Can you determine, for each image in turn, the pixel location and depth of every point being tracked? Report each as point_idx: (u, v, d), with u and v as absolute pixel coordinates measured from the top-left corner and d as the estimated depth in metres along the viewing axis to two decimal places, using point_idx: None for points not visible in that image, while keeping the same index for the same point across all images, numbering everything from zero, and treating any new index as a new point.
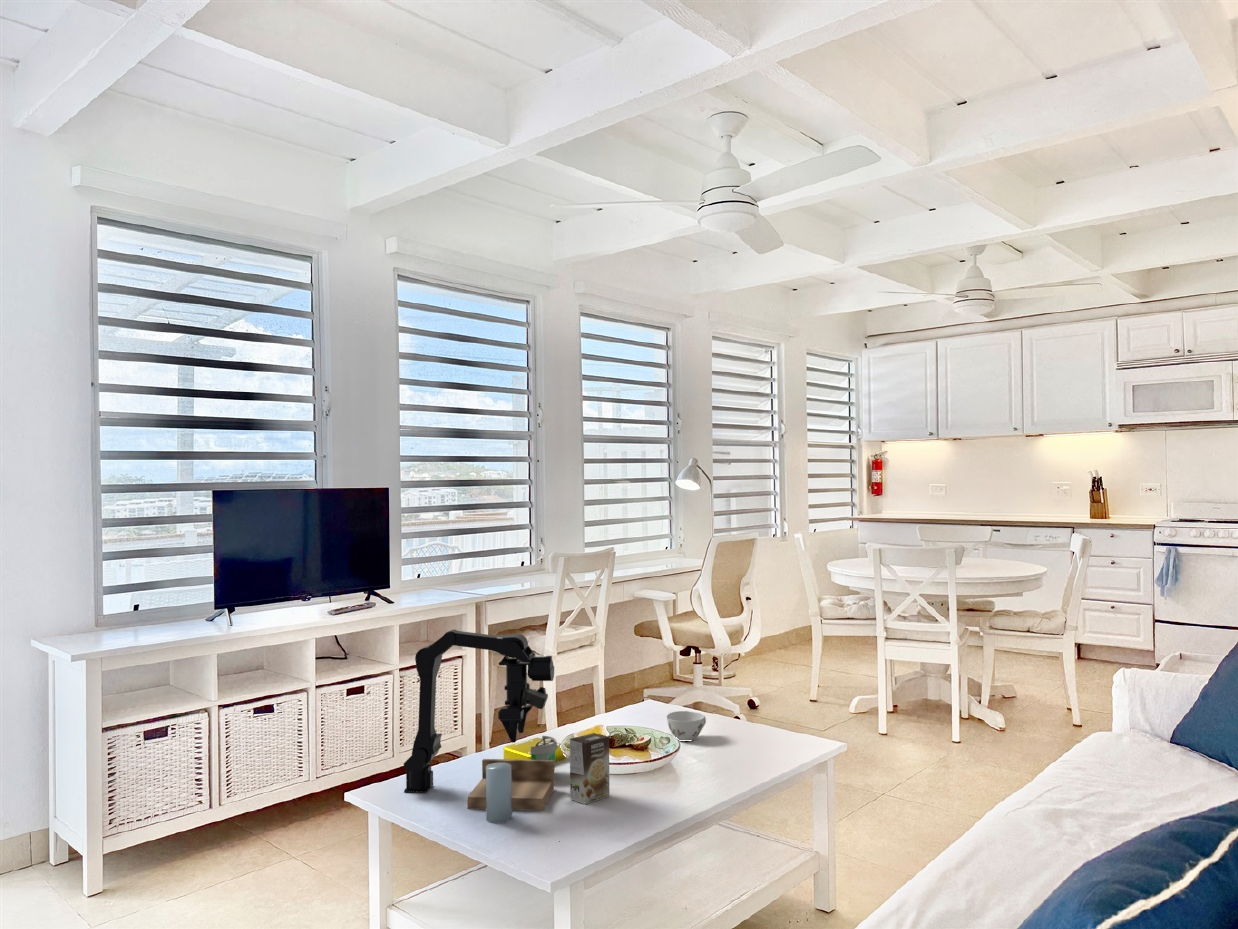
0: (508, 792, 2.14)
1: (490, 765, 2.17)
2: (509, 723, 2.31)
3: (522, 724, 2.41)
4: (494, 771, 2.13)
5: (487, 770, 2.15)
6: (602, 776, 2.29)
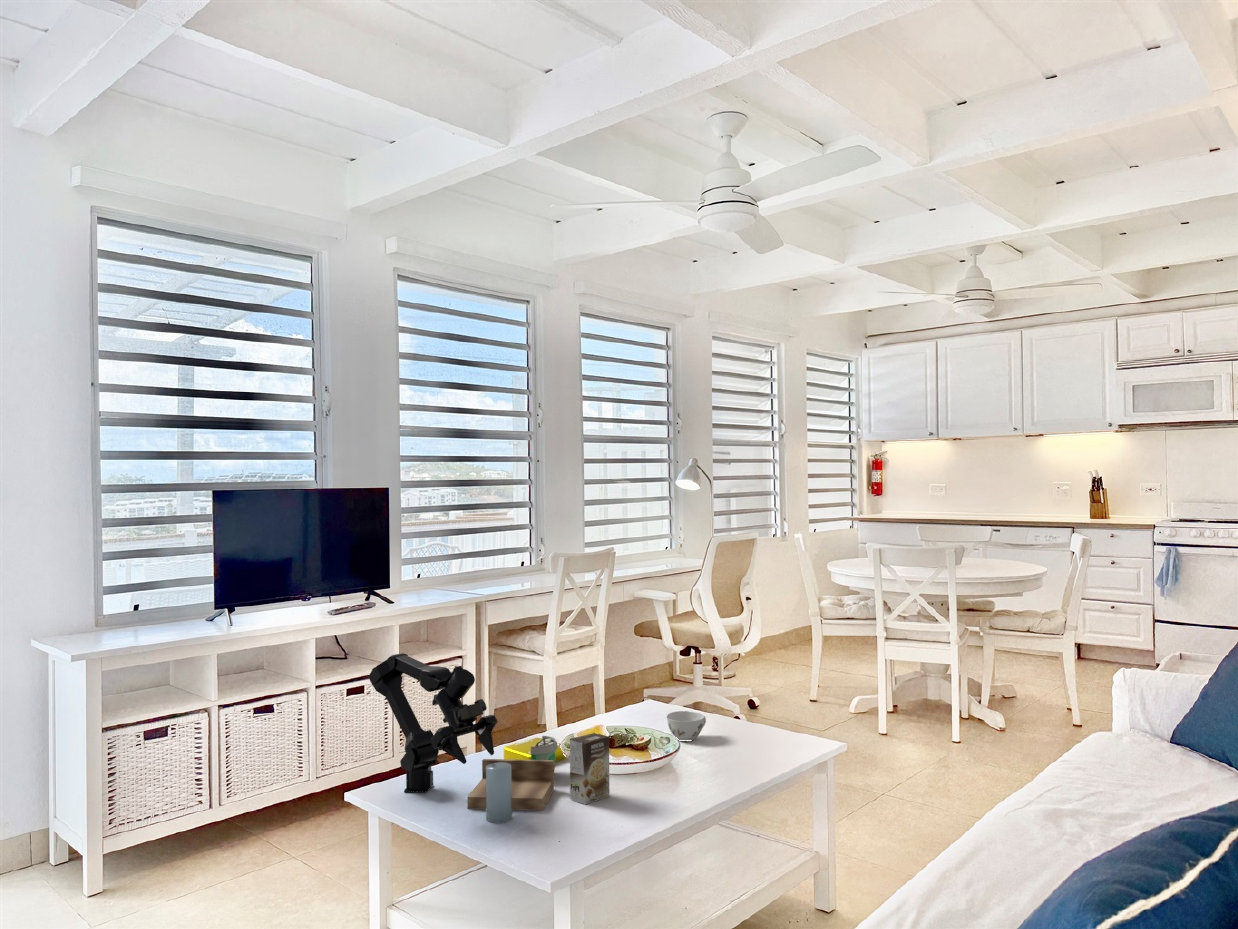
0: (508, 792, 2.14)
1: (490, 765, 2.17)
2: (450, 747, 2.21)
3: (489, 745, 2.26)
4: (494, 771, 2.13)
5: (487, 770, 2.15)
6: (602, 776, 2.29)
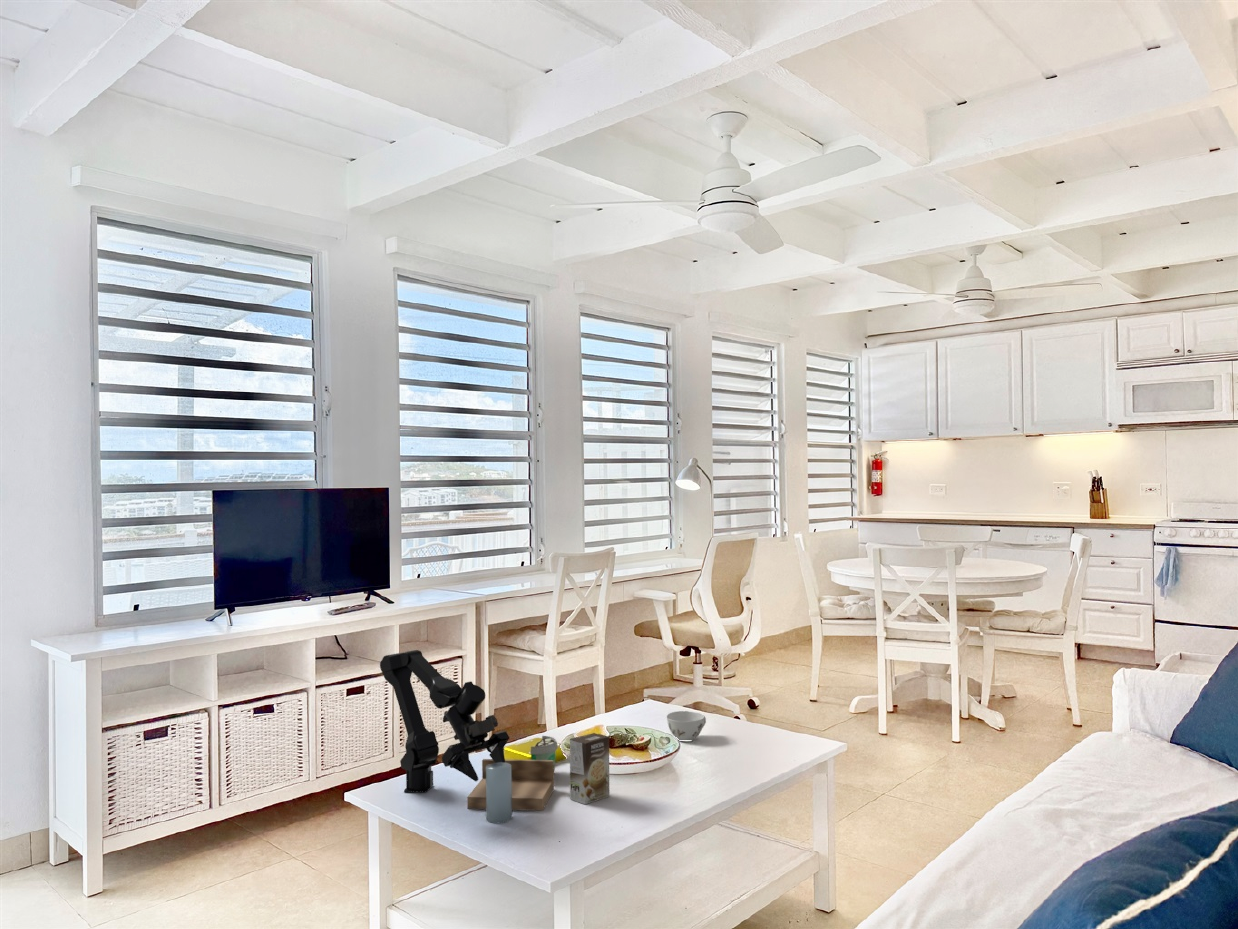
0: (508, 792, 2.14)
1: (490, 765, 2.17)
2: (462, 765, 2.17)
3: None
4: (494, 771, 2.13)
5: (487, 770, 2.15)
6: (602, 776, 2.29)
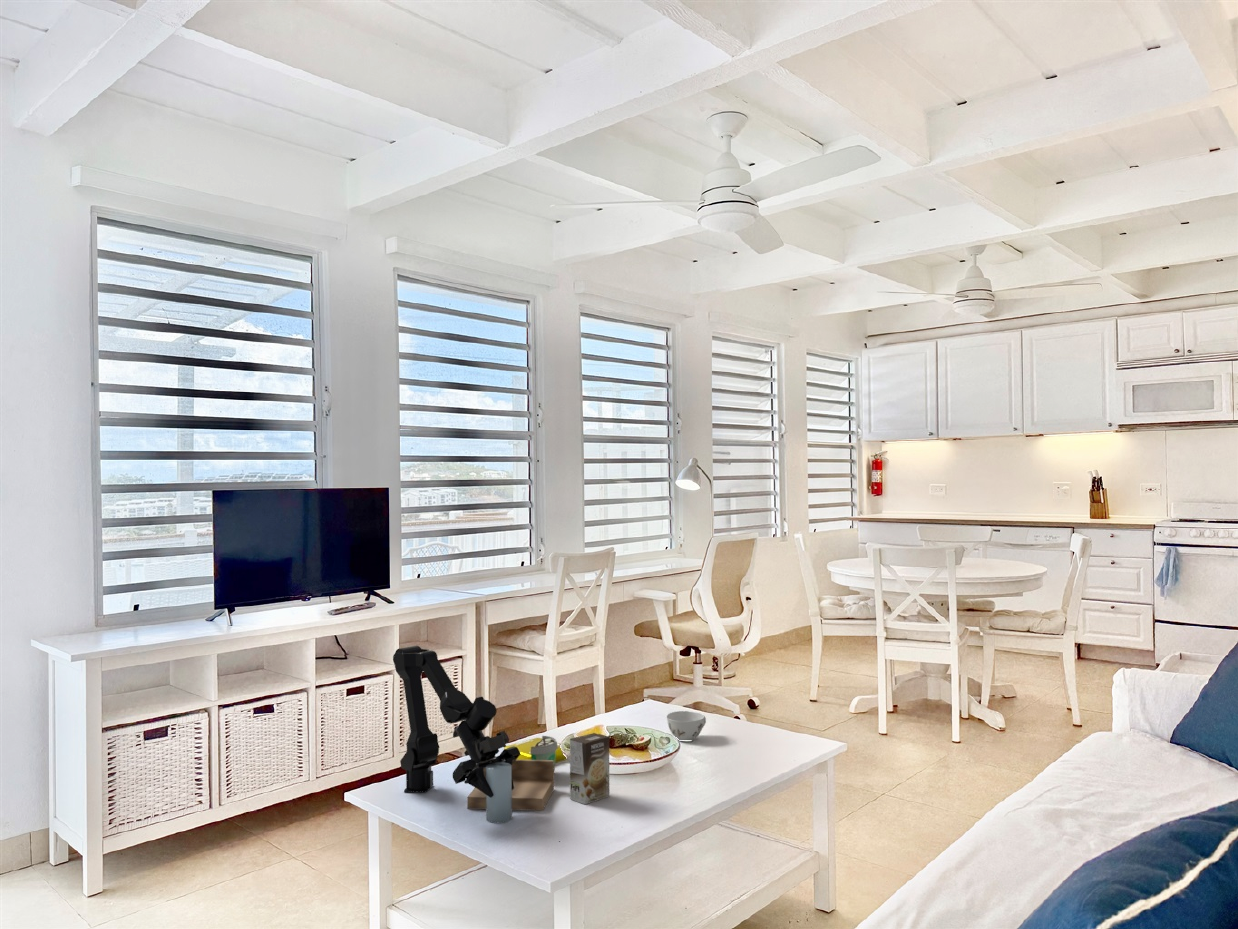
0: (508, 792, 2.14)
1: (490, 765, 2.17)
2: (477, 780, 2.15)
3: None
4: (494, 771, 2.13)
5: (487, 770, 2.15)
6: (602, 776, 2.29)
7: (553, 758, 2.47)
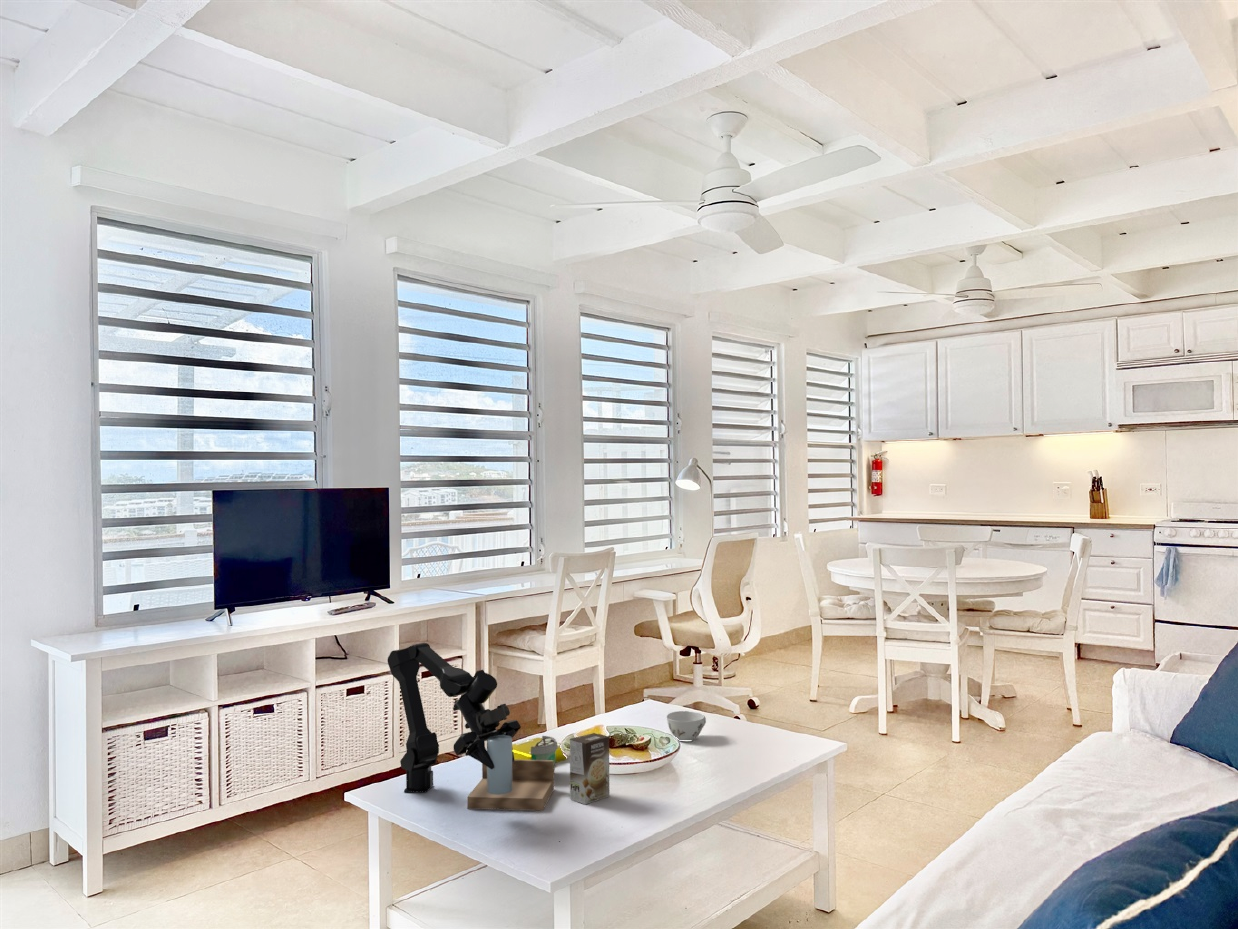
0: (509, 764, 2.15)
1: (491, 737, 2.18)
2: (477, 752, 2.15)
3: None
4: (495, 743, 2.14)
5: (488, 742, 2.15)
6: (602, 776, 2.29)
7: (553, 758, 2.47)
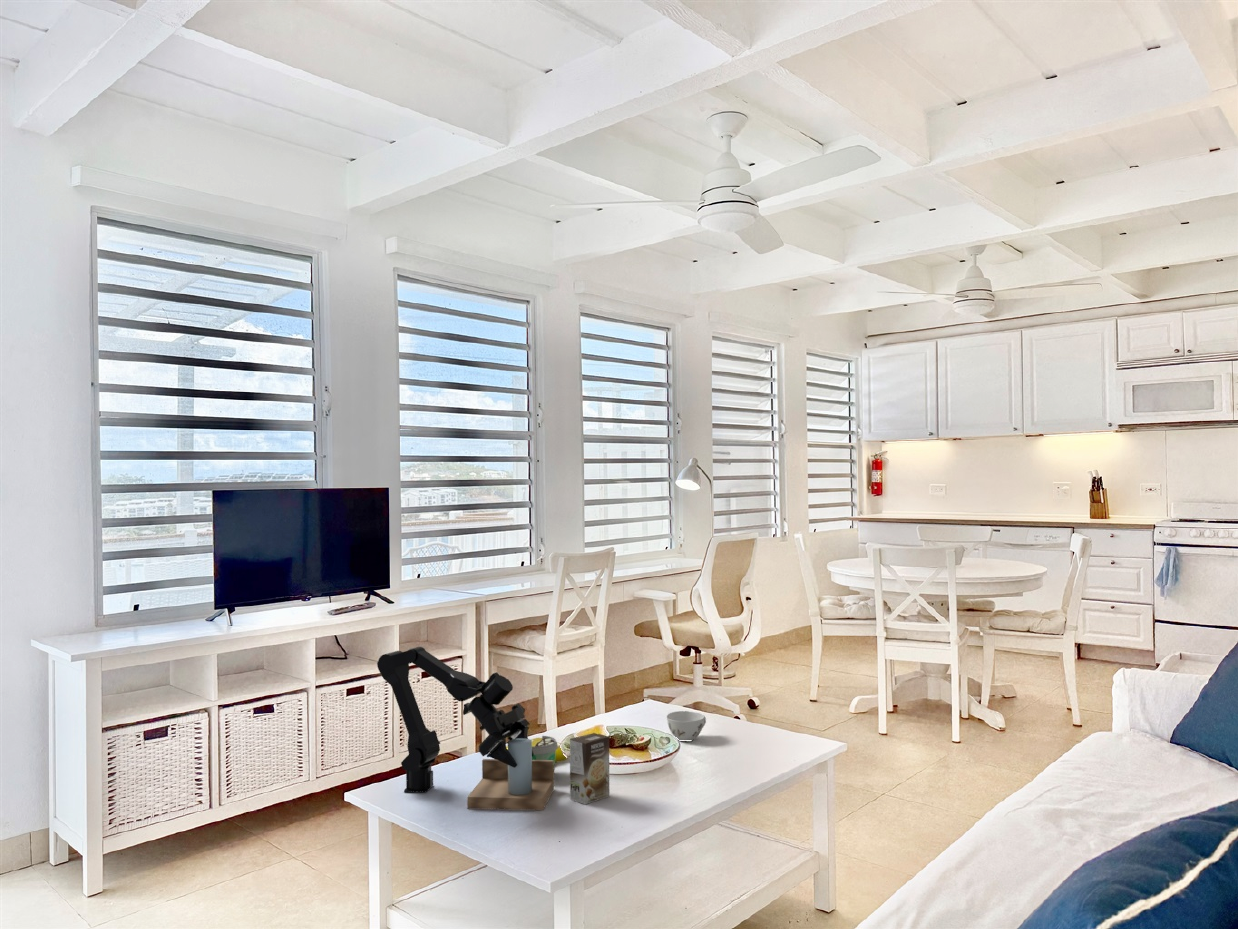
0: (531, 765, 2.26)
1: (511, 741, 2.27)
2: (498, 753, 2.23)
3: None
4: (520, 745, 2.24)
5: (511, 745, 2.25)
6: (602, 776, 2.29)
7: (553, 758, 2.47)
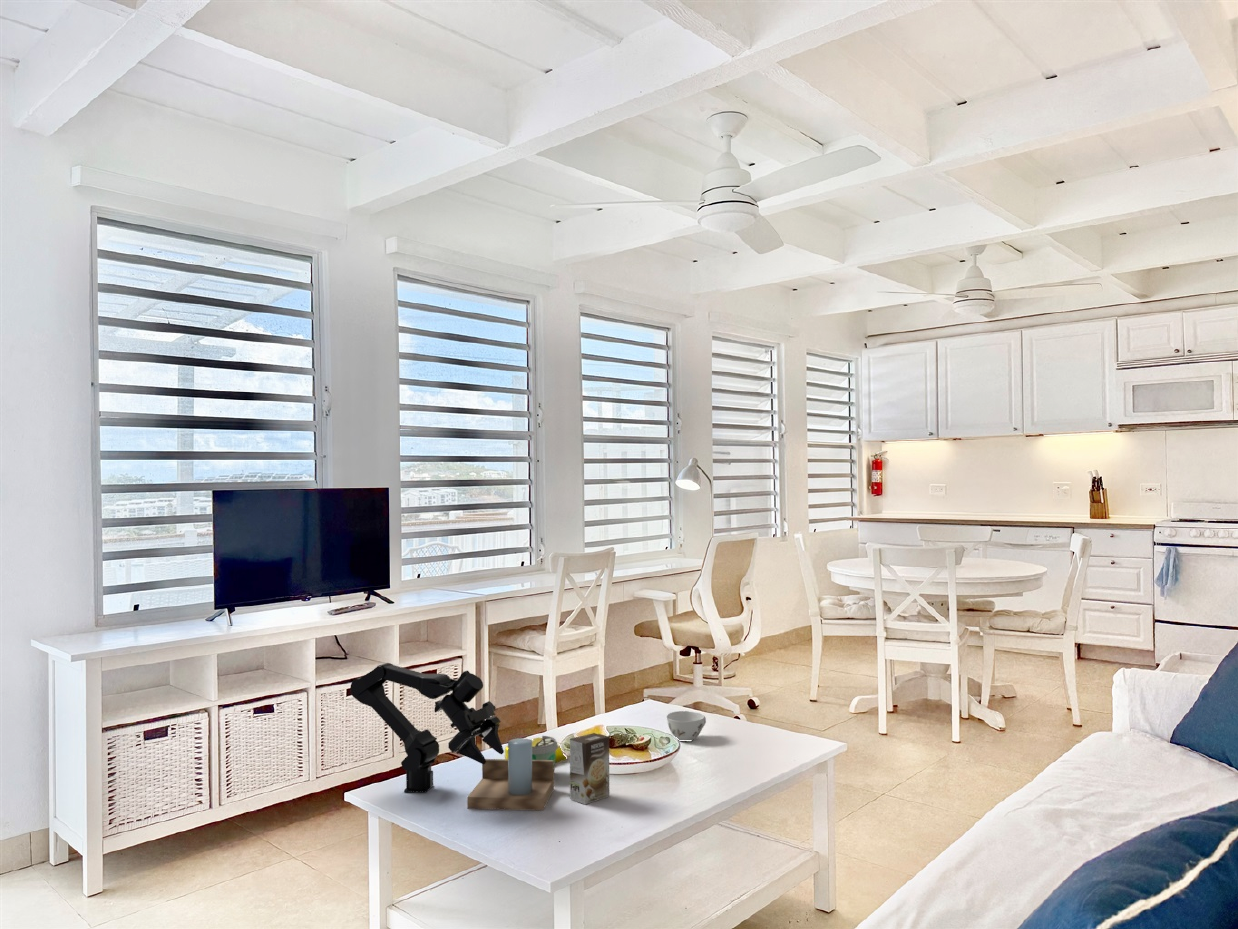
0: (531, 765, 2.26)
1: (511, 741, 2.27)
2: (468, 750, 2.26)
3: (498, 745, 2.35)
4: (520, 746, 2.24)
5: (512, 746, 2.25)
6: (602, 776, 2.29)
7: (553, 758, 2.47)
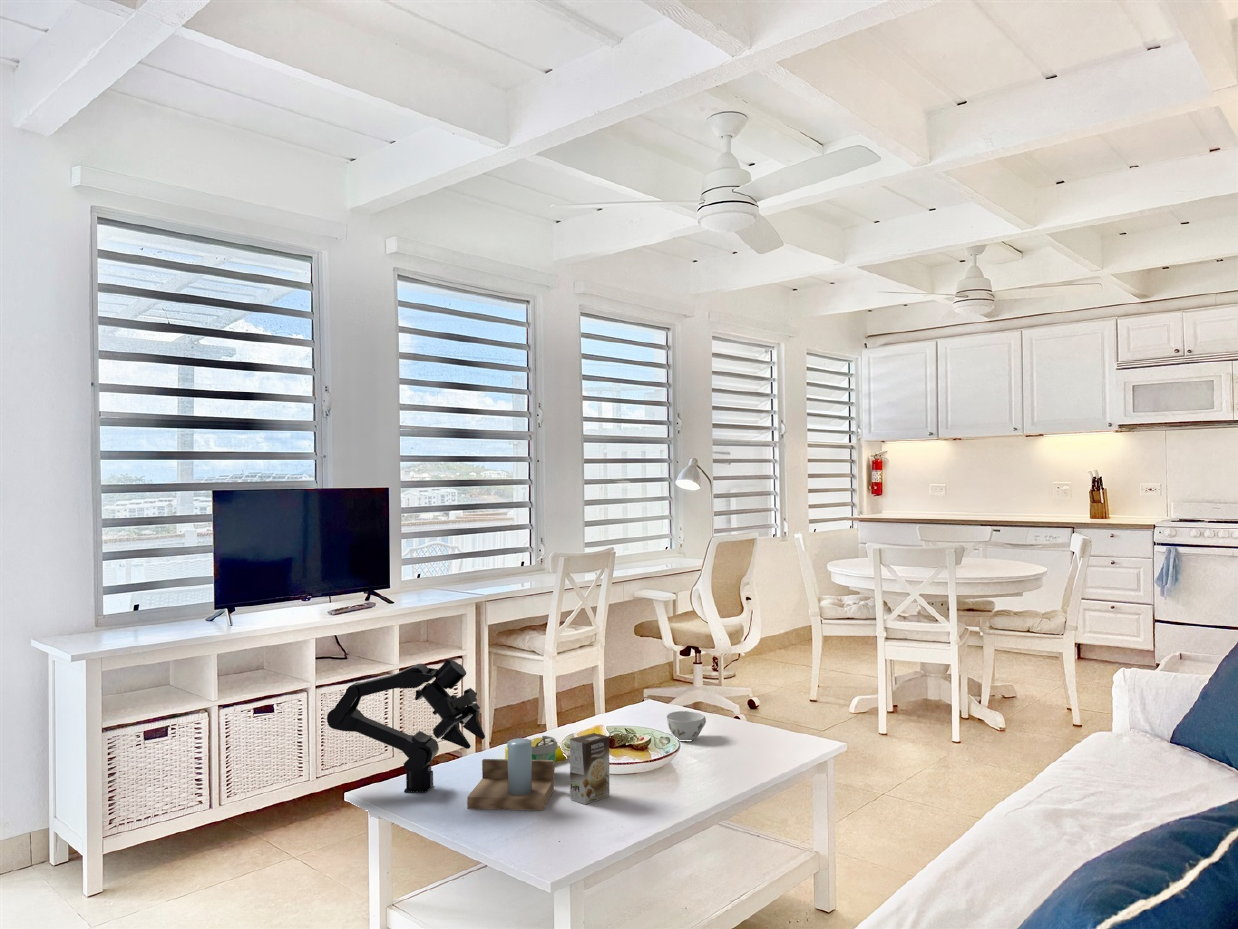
0: (531, 765, 2.26)
1: (510, 742, 2.27)
2: (452, 735, 2.31)
3: (479, 731, 2.40)
4: (520, 746, 2.24)
5: (511, 746, 2.24)
6: (602, 776, 2.29)
7: (553, 758, 2.47)
